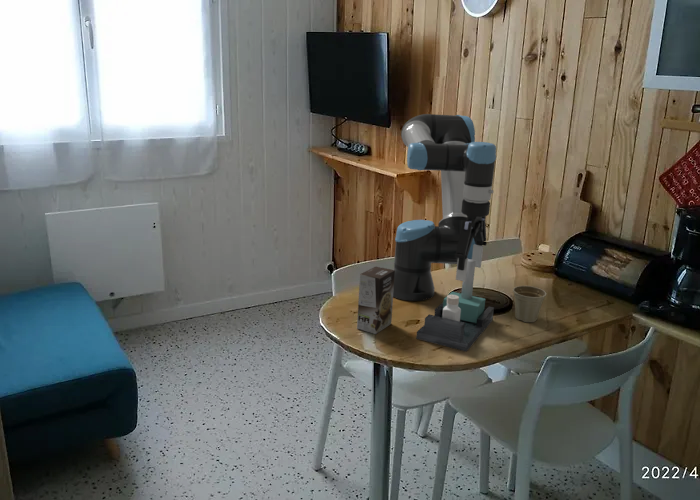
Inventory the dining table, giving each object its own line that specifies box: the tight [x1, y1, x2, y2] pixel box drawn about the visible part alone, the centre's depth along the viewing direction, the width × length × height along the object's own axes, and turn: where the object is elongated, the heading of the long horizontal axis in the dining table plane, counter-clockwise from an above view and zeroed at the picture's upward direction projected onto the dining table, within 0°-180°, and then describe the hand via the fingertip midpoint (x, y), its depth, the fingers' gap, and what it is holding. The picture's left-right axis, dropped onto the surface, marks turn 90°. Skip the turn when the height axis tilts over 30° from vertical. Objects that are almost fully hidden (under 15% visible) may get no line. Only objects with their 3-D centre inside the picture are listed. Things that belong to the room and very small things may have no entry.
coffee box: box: [356, 266, 395, 335], centre depth 168 cm, size 9×6×16 cm
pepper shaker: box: [442, 294, 461, 321], centre depth 164 cm, size 4×4×10 cm
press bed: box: [415, 302, 495, 353], centre depth 169 cm, size 14×24×6 cm, turn 151°
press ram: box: [442, 259, 486, 323], centre depth 172 cm, size 10×7×16 cm
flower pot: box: [512, 285, 547, 323], centre depth 178 cm, size 9×9×9 cm
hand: (468, 273), depth 172 cm, fingers open, 13 cm apart
